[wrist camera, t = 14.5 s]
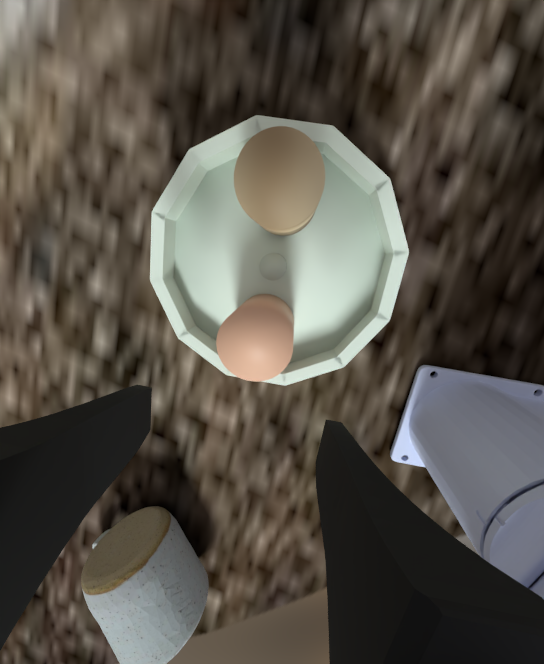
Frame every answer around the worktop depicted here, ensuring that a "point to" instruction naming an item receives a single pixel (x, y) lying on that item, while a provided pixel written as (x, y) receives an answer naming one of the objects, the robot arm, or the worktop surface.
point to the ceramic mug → (145, 587)
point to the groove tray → (279, 252)
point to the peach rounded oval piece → (257, 338)
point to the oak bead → (280, 179)
